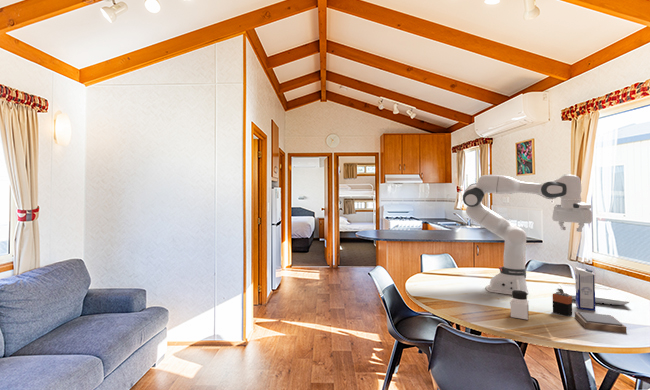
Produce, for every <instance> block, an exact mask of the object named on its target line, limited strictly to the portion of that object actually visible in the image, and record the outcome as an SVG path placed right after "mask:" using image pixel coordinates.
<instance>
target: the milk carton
mask: <svg viewBox="0 0 650 390" xmlns="http://www.w3.org/2000/svg"><path fill="white" fill-rule="evenodd" d="M574 271H575V274H574V275H575V285H576V300H575V306H576V307H577V309H578V310H585V311H593V312H596V303H595V287H596V275H595V273H593V272H594V270H592V269H589V268H585V269H584V268H580V267H577V266H575V269H574Z"/></svg>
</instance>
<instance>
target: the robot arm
mask: <svg viewBox="0 0 650 390" xmlns="http://www.w3.org/2000/svg"><path fill="white" fill-rule="evenodd" d="M517 193H518V194H520V193H521V194H530V195H531V194H532V195H538V196H540V197H542V198H545V199H546V200H555V199H557V198H560V204H556V205H554V207H553V210H552V217H551V218H552V220H553V222H558V225H559V227H560V230H561V231H566V228H567V227H566V226H565V225H564V224H565V223H575V224H578V228H576V232H577V233H582V232H583V228H584V226H585V224H591V223H592V221H593V214H592V210H591V208H592V205H591V204H590V203H587V202H584V201H582V196H581V194H582V181H581V178H580V177H579V176H578V175H575V174H562V175H561V176H560V177H557V178H555V179H552V180H548V181H545V182H543V183H542V182H541V183H535V182H528V181H527V182H525V181H520V180H518V179H516V178H514V177H511V176H508V175H501V174H483V175H481V176H479V178H478V180H477V183H476V182H475V183H471V184H469V186H467V188H466V189H465V190H464V193H463V195H462V201H463V203H464V204H465V206H466V209H465V214H466V215H467V216H468V217H469V218H470V219H471V220H473V221H474V222H475V223H476V224H478V225H480V226H482V227H483V228H484V229H486V230H487V231H489V232H491V233H492V234H494V235H496V236H497V237H499V238H500V239H502V240H504V247H503V249H504V250H503V266H498V270H499V273H498V274H496V275H494V276H492V277H491V279H490V281H489V284H487V285H486V286H485V290H486V291H487V292H490V293H496V294H502V295H503V294H505V295H511V296H512V291H513V290H522V291H525V292H526V293H527V295H528V294H529V290H528V286H527V280H526V278H527V269H526V247H527V233H526V231H525V230H524V229H523V228H521V227H519V226H517V225H516V224H514V223H513V222H510V221H509V220H507V219H506V218H504V217H503V216H501V215H500V214H498V213H497V212H495V211H493V210H492V209H490V208H489V207H488V206H485V205H484V204H483V199H484V196H485V195H486V194H498V195H511V194H512V195H513V194H517Z"/></svg>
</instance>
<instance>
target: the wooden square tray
mask: <svg viewBox="0 0 650 390" xmlns="http://www.w3.org/2000/svg"><path fill="white" fill-rule="evenodd" d="M574 319H576V320H577V321H578V323H580V325H582V327H583V328H584V329H589V330H599V331H605V332H615V333H622V334H627V326H625V325H624V324H623V323H622V322H620V320H618V319H617V318H615V317H614V316H613V315H610V314H602V313H601V314H600V313H593V312H581V311H578V312H574Z"/></svg>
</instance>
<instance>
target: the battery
mask: <svg viewBox="0 0 650 390" xmlns="http://www.w3.org/2000/svg"><path fill="white" fill-rule="evenodd" d="M552 313H554V314H557V315H562V316H565V317H570V316H572V315H573V299H572V296H570V295H569V294H567V293H564V292H563V293H561V292H559V291H555V293H552Z"/></svg>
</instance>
